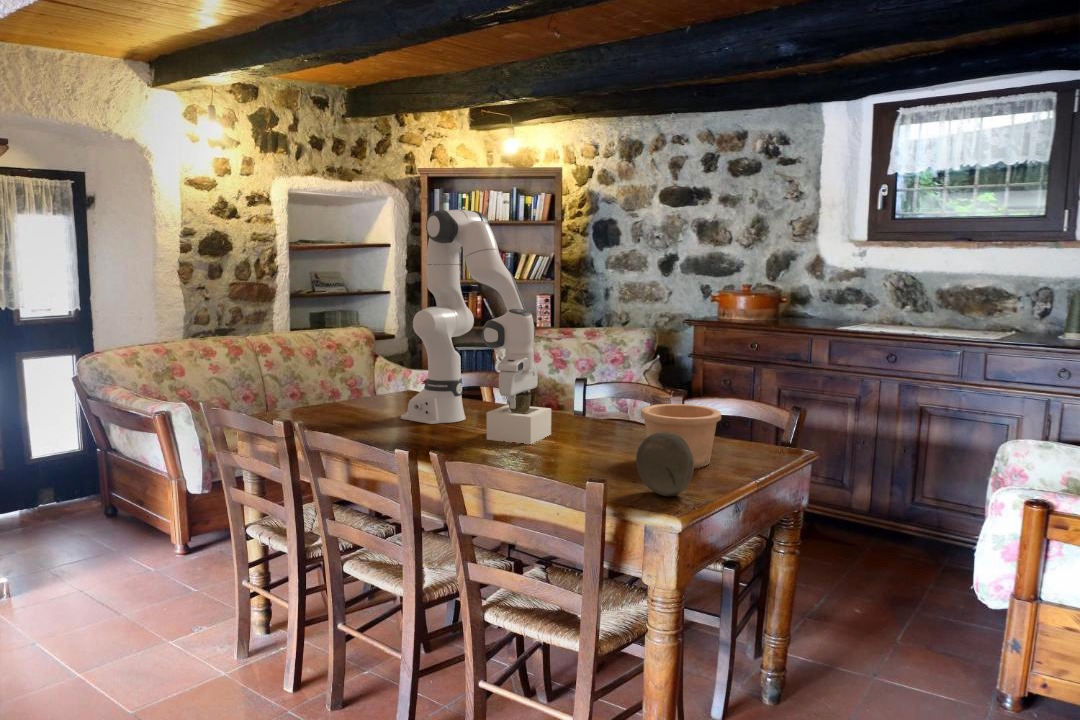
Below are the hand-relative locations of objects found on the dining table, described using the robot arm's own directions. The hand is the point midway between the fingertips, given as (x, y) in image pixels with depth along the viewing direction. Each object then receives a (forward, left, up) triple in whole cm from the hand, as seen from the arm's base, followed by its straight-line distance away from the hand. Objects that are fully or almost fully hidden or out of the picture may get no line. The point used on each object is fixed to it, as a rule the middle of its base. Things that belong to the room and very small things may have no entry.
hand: (519, 406), depth 256 cm
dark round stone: (+58, -39, -10) cm, 71 cm away
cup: (0, 0, -4) cm, 4 cm away
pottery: (+53, -7, -10) cm, 55 cm away
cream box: (0, 0, -10) cm, 10 cm away
